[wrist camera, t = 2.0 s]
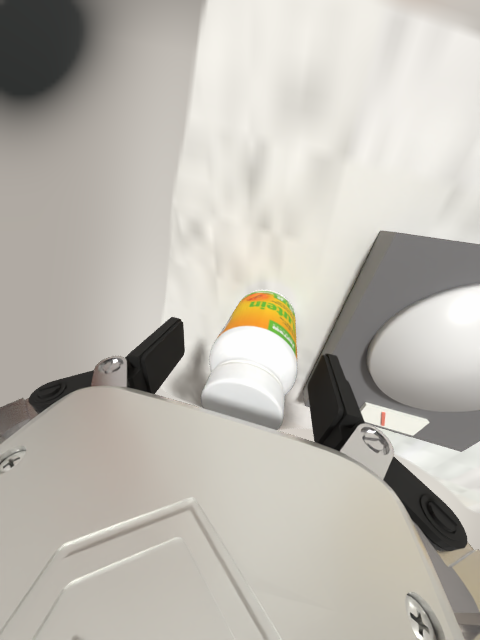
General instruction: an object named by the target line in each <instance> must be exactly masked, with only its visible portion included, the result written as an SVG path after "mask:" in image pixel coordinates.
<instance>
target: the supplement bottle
mask: <svg viewBox="0 0 480 640" xmlns="http://www.w3.org/2000/svg"><path fill="white" fill-rule="evenodd" d="M209 365H210V369H211V374H210V376H209V378H208V380H207V382H206V385H205V387H204V389H203V391H202V394H201V403H202V406H203V408H204V409H207V410H211V411H214V412H217V413H221V414H224V415H227V416H231V417H234V418H238V419H241V420H244V421H248V422H251V423H254V424H258V425H261V426H264V427H267V428H271V429H274V430H278V429H279V427H280V426H281V424H282V421H283V415H284V400H285V397H284V395H286V394H287V393H288V392H289V391H290V390H291V388H292V387H293V385H294V383H295V380H296V377H297V346H296V323H295V313H294V309H293V307H292V305H291V303H290V302H289V301H288V300H287V299H286V298H285V297H284V296H283V295H281V294H279V293H277V292H275V291H271V290H257V291H253V292H251V293H249V294H247V295H246V296H245V297H244V298H243V299H242V300H241V301H240V303H239V304H238V306H237V307H236V309H235V310H234V312H233V314H232V315H231V317H230V319H229V320H228V322H227V323H226V325H225V327H224V328H223V330H222V331H221V333H220V334H219V336H218V338H217V339H216V341H215V342H214V344H213V346H212V349H211V351H210V356H209Z"/></svg>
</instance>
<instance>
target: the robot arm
mask: <svg viewBox="0 0 480 640" xmlns="http://www.w3.org/2000/svg"><path fill="white" fill-rule="evenodd" d="M184 352H185V349H184V329H183V322H182V321H181V319H178V318H174V317H171V318H170V319H169V320H168V321H166V322H165V323H164V324H163V325H162V326H161V327H160V328H158V329H157V330H156V331H155V332H154V333H153V334H151V335H150V336H149V337H148V338H147V339H146V340H144V341H143V342H142V343H141V344H140V345H139V346H137V347H136V348H135V349H134V350H133V351H132V352H131V353H130V354H128V356H127V357H125V358H124V357H121V356H112V357H108V358H106V359H104V360H102V361H100V362H99V363H98V364H97V365H96V366H95V369H94V370H93V371H90V372H86V373H82V374H78V375H75V376H71V377H67V378H63V379H59V380H56V381H52V382H49V383H47V384H45V385H43V386H41V387H39V388H38V389H36V390H35V391H34V392H33V393H32V394H31V396H30V397H29V398H28V399H26V400H25V399H24V398H22V399H19V400H17V401H14V402H12V403H10V404H7V405H5V406H3V407H0V640H480V551H479V549H478V550H474V549H473V548H472V547H471V545H470V544H469V543H468V542H467V536H466V533H465V530H464V528H463V526H462V524H461V522H460V521H459V519H458V518H457V517H456V515H455V514H454V513H453V511H452V510H451V509H450V508H449V507H448V506H447V505H446V504H445V503H444V502H443V501H442V500H441V499H440V498H439V497H438V496H436V495H435V494H434V493H433V492H432V491H431V490H430V489H429V488H428V487H427V486H425V485H424V484H423V483H422V482H421V481H420V480H419V479H418V478H417V477H416V476H415V475H413V474H412V473H411V472H410V471H409V470H408V469H407V468H406V467H405V466H403V465H402V464H401V463H400V462H399V461H398V460H397V459H396V458H395V457H394V449H393V446H392V444H391V442H390V441H389V439H388V438H387V437H386V436H385V435H384V434H383V433H382V432H381V431H380V430H379V429H377V428H376V427H374V426H372V425H369V424H365V421H364V419H363V416H362V414H361V411H360V409H359V406H358V404H357V401H356V399H355V396H354V394H353V391H352V388H351V386H350V383H349V382H348V381H347V380H346V378H345V375H344V373H343V370H342V368H341V365H340V362H339V360H338V357H337V356H336V355H332V354H328V353H326V354H325V355H322V356H321V358H320V360H319V362H318V364H317V366H316V368H315V370H314V372H313V374H312V376H311V378H310V380H309V382H308V387H307V389H308V396H309V404H310V411H311V419H312V427H313V434H314V441H315V442H312V441H309V440H306V439H303V438H300V437H297V436H294V435H291V434H287V433H284V432H281V431H277V430H274V429H271V428H267V427H264V426H261V425H258V424H254V423H251V422H248V421H244V420H241V419H238V418H234V417H231V416H227V415H224V414H221V413H217V412H214V411H211V410H207V409H204V408H200V407H197V406H194V405H190V404H187V403H183V402H180V401H176V400H173V399H169V398H166V397H162V396H159V395H155V393H156V391H157V390H158V389H159V388H160V386H161V385H162V384H163V382H164V381H165V380H166V378H167V377H168V375H169V374H170V373H171V371H172V370H173V369H174V367H175V366H176V365H177V363H178V362H179V361H180V359H181V358H182V357H183V355H184Z"/></svg>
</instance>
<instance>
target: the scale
mask: <svg viewBox="0 0 480 640" xmlns="http://www.w3.org/2000/svg"><path fill="white" fill-rule="evenodd" d="M326 353H328V354H332V355H336V356H337V357H338V360H339V362H340V365H341V368H342V370H343V373H344V375H345V378H346V380H347V381H348V382H349V383H350V386H351V388H352V391H353V394H354V396H355V399H356V401H357V404H358V406H359V409H360V411H361V414H362V416H363V419H364V421H365V424H369V425H372V426H376V427H379V428H382V429H386V430H389V431H393V432H396V433H399V434H403V435H406V436H410V437H413V438H416V439H420V440H423V441H427V442H430V443H434V444H437V445H440V446H444V447H447V448H451V449H454V450H457V451H461V452H462V451H464V450H466V449H467V448H469V447H471V446H472V445H474V444H476V443H477V442H479V441H480V244H473V243H466V242H459V241H452V240H445V239H438V238H431V237H424V236H417V235H410V234H403V233H397V232H388V231H380V233H379V235H378V237H377V239H376V241H375V243H374V245H373V247H372V249H371V251H370V254H369V256H368V258H367V260H366V262H365V264H364V266H363V268H362V270H361V272H360V274H359V276H358V278H357V280H356V282H355V284H354V287H353V289H352V291H351V293H350V295H349V297H348V299H347V301H346V303H345V305H344V307H343V309H342V311H341V313H340V315H339V318H338V320H337V322H336V324H335V326H334V328H333V330H332V332H331V334H330V336H329V338H328V340H327V342H326V344H325V346H324V348H323V351H322V353H321V355H320V357H319V359H318V361H317V363H316V365H315V367H314V369H313V371H312V373H311V375H310V377H309V379H308V381H307V384H306V386H305V388H304V402H305V406H308V407H310V404H309V396H308V389H307V387H308V382H309V380H310V378H311V376H312V374H313V372H314V370H315V368H316V366H317V364H318V362H319V360H320V358H321V356H322V355H325V354H326Z"/></svg>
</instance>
